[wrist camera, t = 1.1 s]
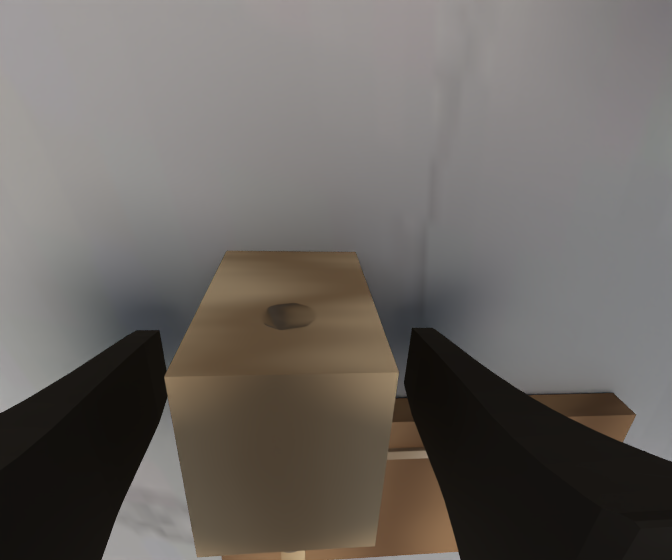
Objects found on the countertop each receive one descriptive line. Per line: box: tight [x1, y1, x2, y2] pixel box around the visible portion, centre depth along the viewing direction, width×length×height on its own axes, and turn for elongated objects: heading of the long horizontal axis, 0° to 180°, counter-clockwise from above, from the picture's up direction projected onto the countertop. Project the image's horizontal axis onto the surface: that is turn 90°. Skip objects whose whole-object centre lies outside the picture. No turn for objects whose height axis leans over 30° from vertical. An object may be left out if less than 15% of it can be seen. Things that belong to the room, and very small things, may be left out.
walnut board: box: [222, 393, 636, 560], centre depth 16 cm, size 16×8×1 cm, turn 88°
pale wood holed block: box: [164, 251, 399, 557], centre depth 11 cm, size 4×8×6 cm, turn 178°
